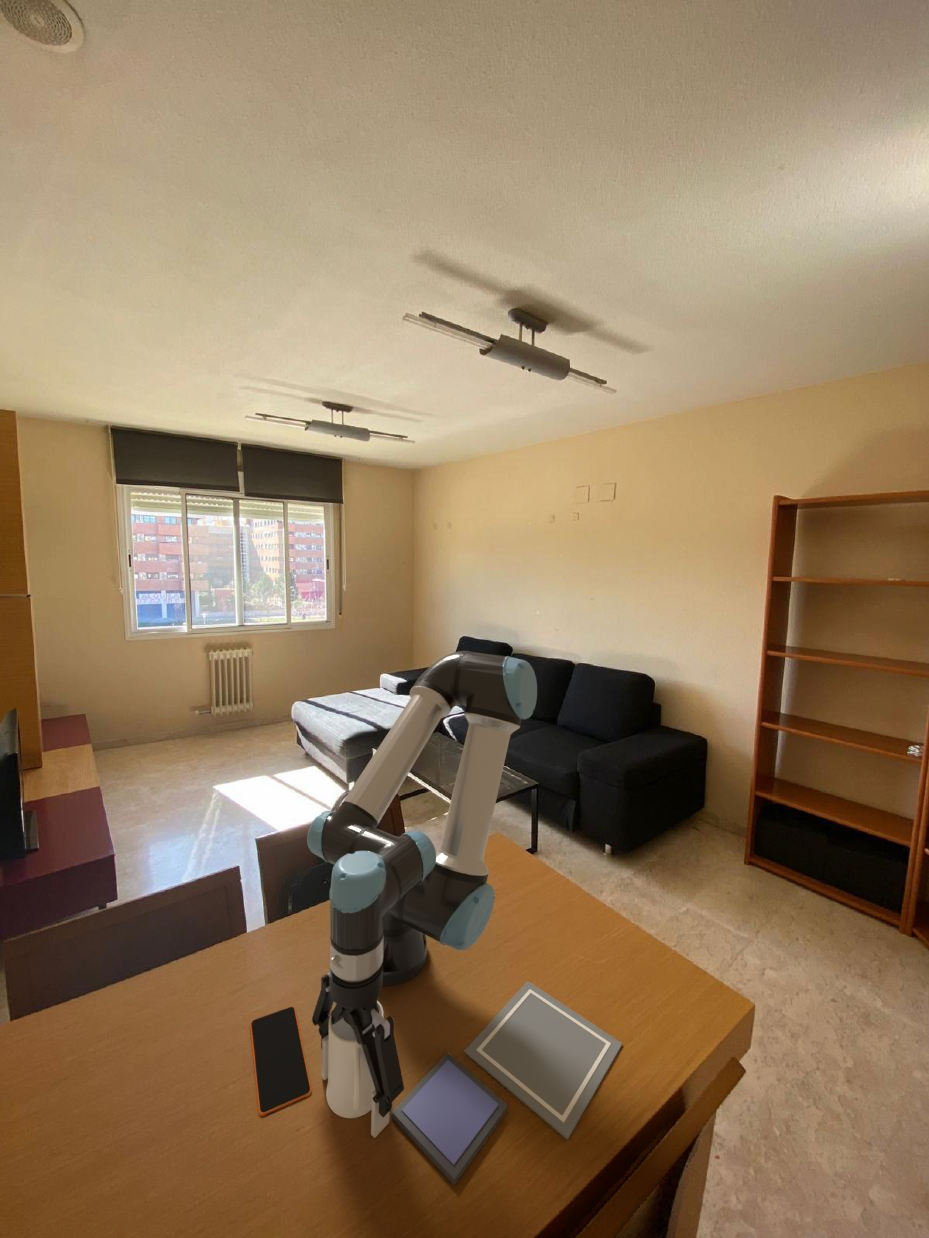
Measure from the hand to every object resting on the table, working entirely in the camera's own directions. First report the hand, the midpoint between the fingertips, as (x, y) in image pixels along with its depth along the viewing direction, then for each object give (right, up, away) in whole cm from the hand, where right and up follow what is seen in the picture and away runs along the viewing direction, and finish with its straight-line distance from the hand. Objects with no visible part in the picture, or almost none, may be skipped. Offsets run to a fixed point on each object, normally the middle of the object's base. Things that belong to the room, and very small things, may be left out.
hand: (354, 1098), depth 75 cm
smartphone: (-13, 0, +6) cm, 15 cm away
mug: (0, 0, 0) cm, 0 cm away
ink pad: (+14, -1, -1) cm, 14 cm away
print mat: (+30, 0, +9) cm, 31 cm away
